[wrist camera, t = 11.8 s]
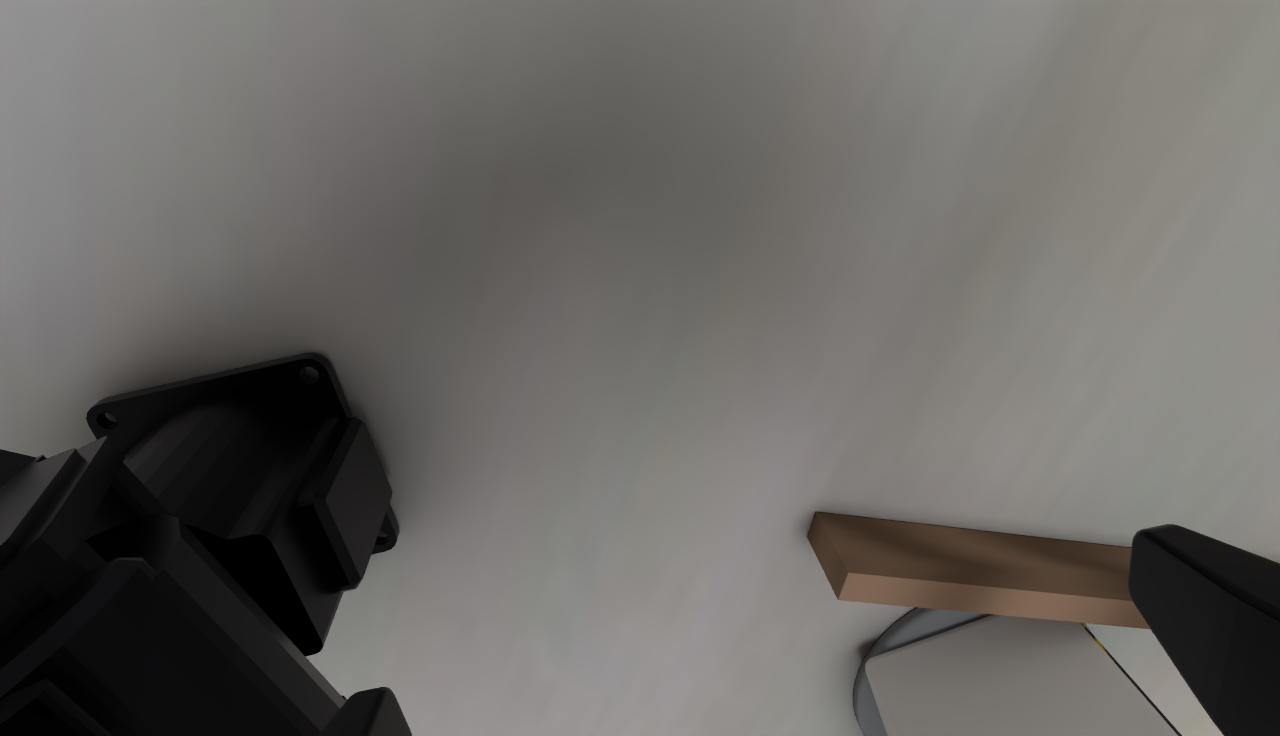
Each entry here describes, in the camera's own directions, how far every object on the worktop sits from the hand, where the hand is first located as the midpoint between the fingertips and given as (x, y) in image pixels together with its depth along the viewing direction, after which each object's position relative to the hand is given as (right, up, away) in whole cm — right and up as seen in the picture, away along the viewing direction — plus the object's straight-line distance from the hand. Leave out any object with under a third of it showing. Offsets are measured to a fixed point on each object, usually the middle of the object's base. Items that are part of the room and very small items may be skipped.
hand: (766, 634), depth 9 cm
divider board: (+14, -3, +17) cm, 22 cm away
